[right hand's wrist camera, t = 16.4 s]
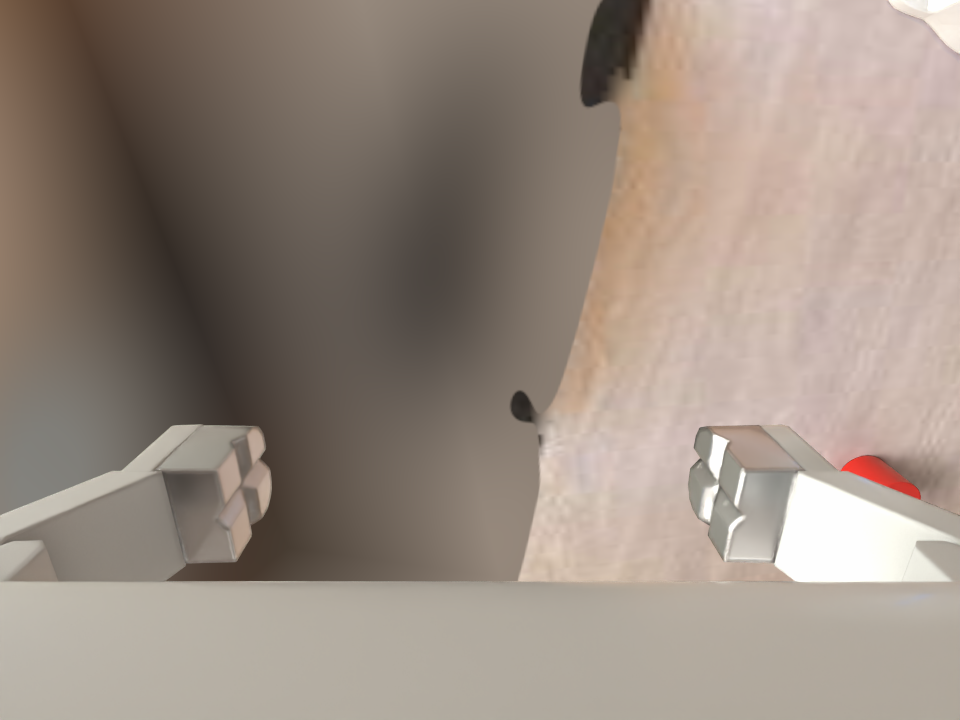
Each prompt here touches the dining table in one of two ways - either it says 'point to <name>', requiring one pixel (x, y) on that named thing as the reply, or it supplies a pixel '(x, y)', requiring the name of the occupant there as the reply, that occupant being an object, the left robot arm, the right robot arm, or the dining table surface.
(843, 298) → the dining table surface
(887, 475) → the canister
